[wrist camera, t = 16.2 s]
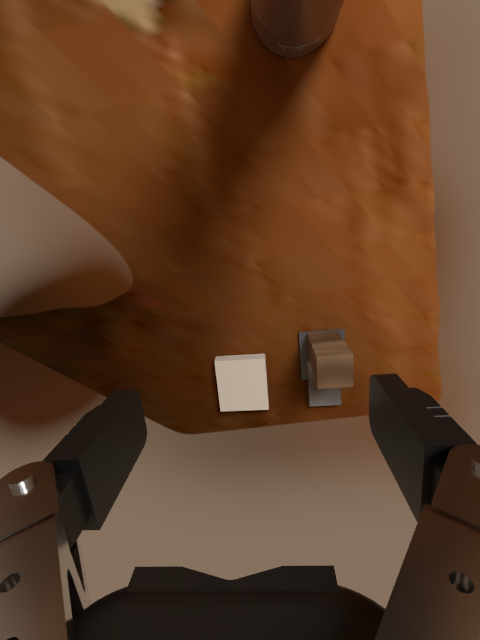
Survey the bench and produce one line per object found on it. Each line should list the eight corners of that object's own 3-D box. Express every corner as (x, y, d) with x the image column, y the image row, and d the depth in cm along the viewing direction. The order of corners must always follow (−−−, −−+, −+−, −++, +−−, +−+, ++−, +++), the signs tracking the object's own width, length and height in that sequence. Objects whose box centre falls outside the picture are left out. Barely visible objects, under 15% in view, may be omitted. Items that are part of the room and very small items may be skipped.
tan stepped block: (305, 333, 43) (314, 356, 36) (338, 330, 43) (355, 354, 35) (309, 404, 46) (318, 440, 39) (340, 402, 46) (355, 438, 38)
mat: (298, 332, 44) (299, 333, 43) (343, 328, 43) (344, 329, 43) (301, 378, 46) (301, 379, 45) (344, 375, 45) (344, 377, 45)
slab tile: (214, 361, 44) (220, 411, 47) (265, 358, 44) (268, 409, 46) (216, 355, 46) (222, 404, 48) (264, 352, 45) (268, 402, 48)
